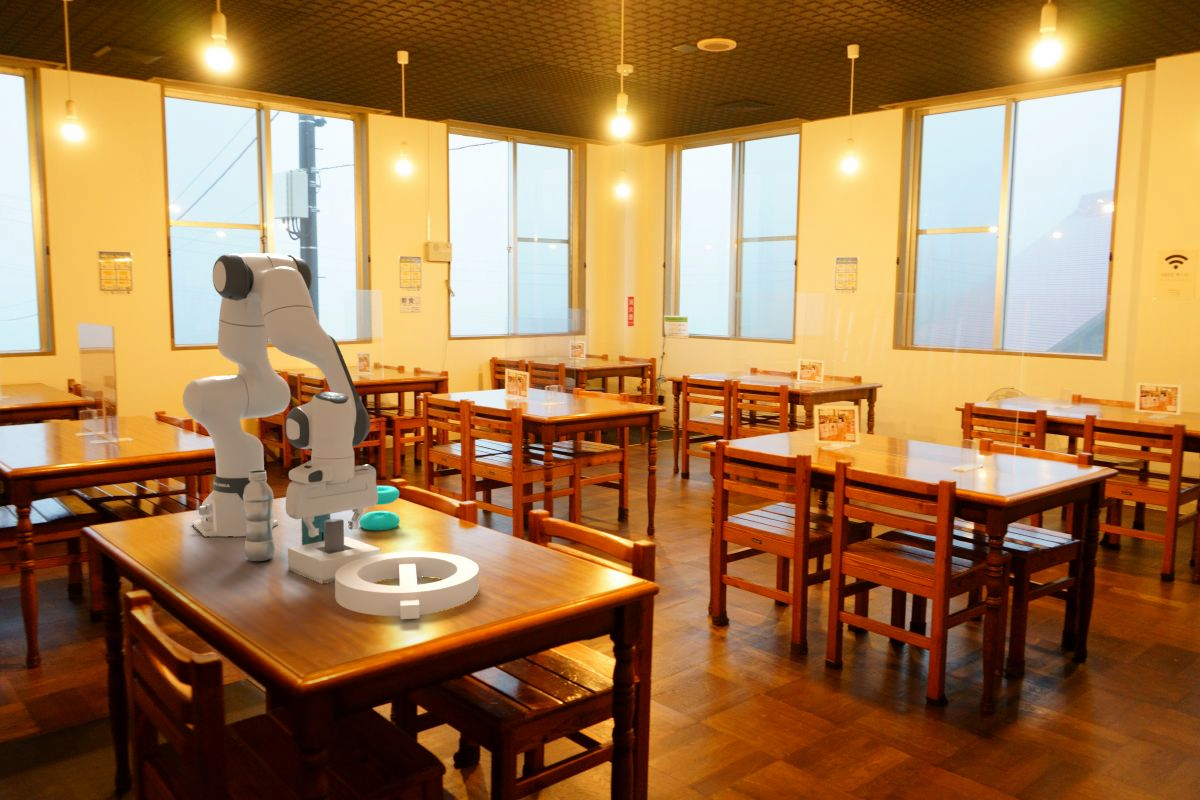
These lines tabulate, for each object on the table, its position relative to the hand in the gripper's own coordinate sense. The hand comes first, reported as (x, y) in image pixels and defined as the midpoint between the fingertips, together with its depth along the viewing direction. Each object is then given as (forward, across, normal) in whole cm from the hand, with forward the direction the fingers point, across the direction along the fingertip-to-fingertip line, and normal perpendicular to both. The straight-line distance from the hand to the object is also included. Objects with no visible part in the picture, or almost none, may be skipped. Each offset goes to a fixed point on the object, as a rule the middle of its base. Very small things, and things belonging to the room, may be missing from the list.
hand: (333, 532), depth 195 cm
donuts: (+9, -28, -26) cm, 39 cm away
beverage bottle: (+8, -3, -13) cm, 16 cm away
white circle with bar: (+9, -3, +23) cm, 25 cm away
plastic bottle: (+9, +8, -18) cm, 21 cm away
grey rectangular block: (+7, 0, 0) cm, 7 cm away
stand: (+8, 0, 0) cm, 8 cm away
